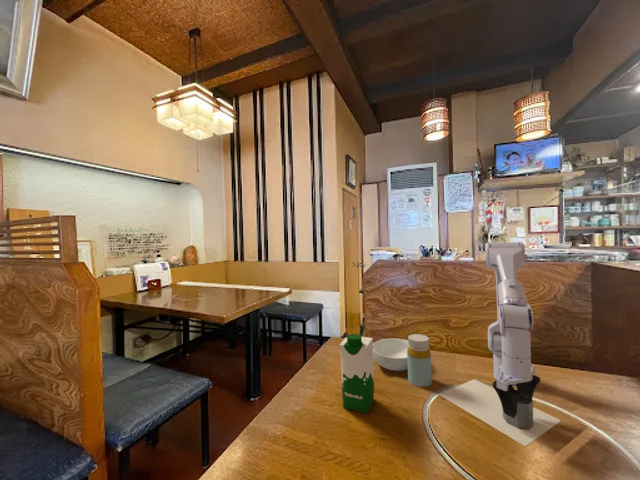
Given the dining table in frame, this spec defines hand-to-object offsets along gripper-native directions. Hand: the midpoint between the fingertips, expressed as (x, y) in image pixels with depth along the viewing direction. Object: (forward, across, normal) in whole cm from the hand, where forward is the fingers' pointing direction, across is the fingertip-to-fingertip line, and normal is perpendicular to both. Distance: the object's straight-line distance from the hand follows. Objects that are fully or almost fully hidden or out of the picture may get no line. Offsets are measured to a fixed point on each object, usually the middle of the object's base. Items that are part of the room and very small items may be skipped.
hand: (517, 409), depth 66 cm
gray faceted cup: (+3, 0, 0) cm, 3 cm away
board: (+4, -1, -6) cm, 7 cm away
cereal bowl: (+4, +2, -38) cm, 38 cm away
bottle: (+4, +4, -25) cm, 26 cm away
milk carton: (+4, +26, -29) cm, 39 cm away
